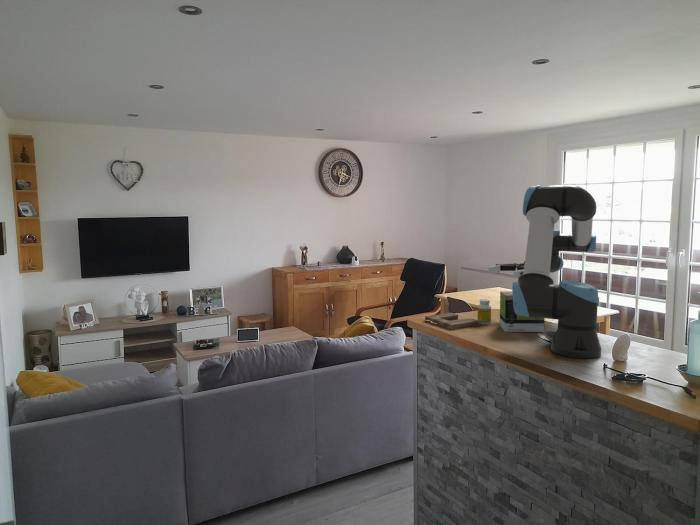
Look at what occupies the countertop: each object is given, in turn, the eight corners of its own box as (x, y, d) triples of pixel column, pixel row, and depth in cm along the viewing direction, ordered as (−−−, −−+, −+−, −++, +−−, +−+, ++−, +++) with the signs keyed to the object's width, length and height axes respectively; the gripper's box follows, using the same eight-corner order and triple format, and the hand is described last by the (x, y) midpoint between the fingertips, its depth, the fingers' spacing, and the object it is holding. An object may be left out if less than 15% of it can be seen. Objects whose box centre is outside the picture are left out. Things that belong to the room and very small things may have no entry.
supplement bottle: (481, 324, 200) (481, 301, 199) (474, 321, 205) (475, 299, 204) (493, 324, 201) (493, 300, 200) (486, 321, 206) (487, 298, 205)
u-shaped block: (478, 325, 199) (478, 320, 199) (452, 329, 192) (452, 324, 192) (450, 317, 214) (450, 312, 213) (425, 320, 207) (425, 316, 207)
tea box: (537, 326, 197) (538, 290, 195) (544, 333, 187) (546, 295, 185) (498, 326, 198) (500, 290, 196) (504, 332, 188) (505, 294, 186)
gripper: (559, 279, 205) (525, 286, 195) (512, 271, 227) (479, 276, 216) (560, 261, 204) (525, 267, 193) (512, 255, 225) (479, 259, 215)
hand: (501, 272), depth 205 cm, fingers open, 13 cm apart
